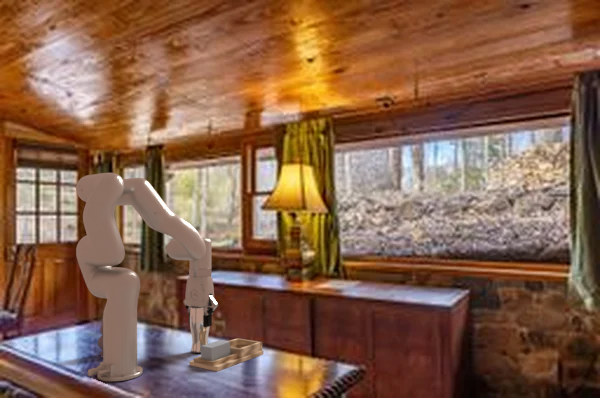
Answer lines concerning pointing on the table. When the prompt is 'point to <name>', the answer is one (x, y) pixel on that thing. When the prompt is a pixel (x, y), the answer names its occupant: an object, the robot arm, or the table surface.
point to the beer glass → (198, 329)
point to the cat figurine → (101, 339)
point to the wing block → (215, 350)
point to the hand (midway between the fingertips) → (200, 324)
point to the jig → (232, 355)
